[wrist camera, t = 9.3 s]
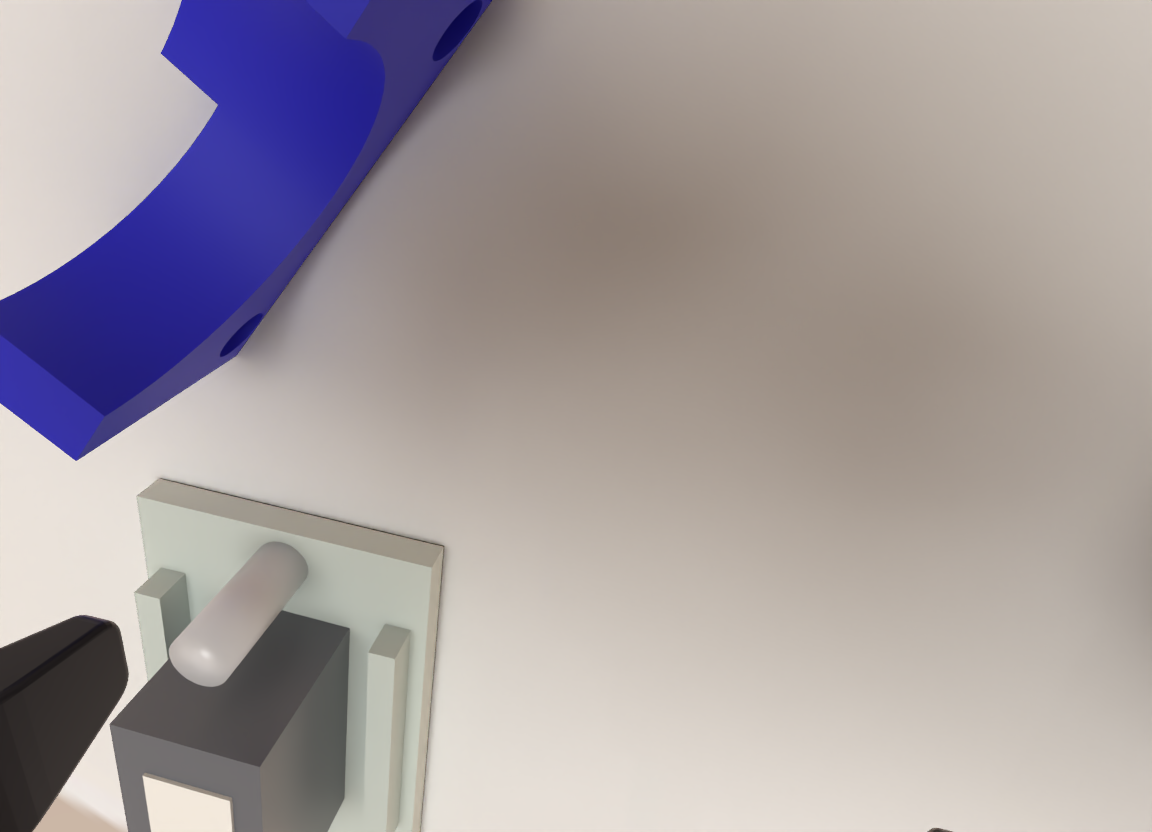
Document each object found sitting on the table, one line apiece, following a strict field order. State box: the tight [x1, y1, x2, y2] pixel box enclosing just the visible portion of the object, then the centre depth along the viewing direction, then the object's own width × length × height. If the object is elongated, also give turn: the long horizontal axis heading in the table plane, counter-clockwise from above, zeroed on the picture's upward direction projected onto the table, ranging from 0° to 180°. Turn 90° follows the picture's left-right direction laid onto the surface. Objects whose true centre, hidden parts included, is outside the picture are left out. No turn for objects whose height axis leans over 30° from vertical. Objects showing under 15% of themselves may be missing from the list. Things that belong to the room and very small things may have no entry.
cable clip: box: [0, 0, 492, 461], centre depth 16 cm, size 12×4×6 cm, turn 138°
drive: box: [110, 610, 350, 832], centre depth 23 cm, size 4×8×5 cm, turn 171°
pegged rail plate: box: [134, 479, 444, 832], centre depth 24 cm, size 9×14×5 cm, turn 171°
